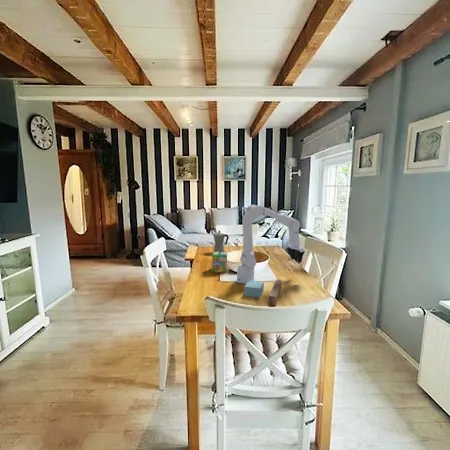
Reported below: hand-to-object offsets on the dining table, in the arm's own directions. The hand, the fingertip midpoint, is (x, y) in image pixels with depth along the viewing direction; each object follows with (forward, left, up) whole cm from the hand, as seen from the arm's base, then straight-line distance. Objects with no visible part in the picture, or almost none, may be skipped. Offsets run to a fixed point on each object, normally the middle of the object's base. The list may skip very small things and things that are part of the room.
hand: (296, 260), depth 166 cm
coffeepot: (-63, +43, -11) cm, 76 cm away
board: (-8, -32, -11) cm, 35 cm away
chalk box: (-48, -3, -11) cm, 49 cm away
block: (-19, -32, -11) cm, 39 cm away
